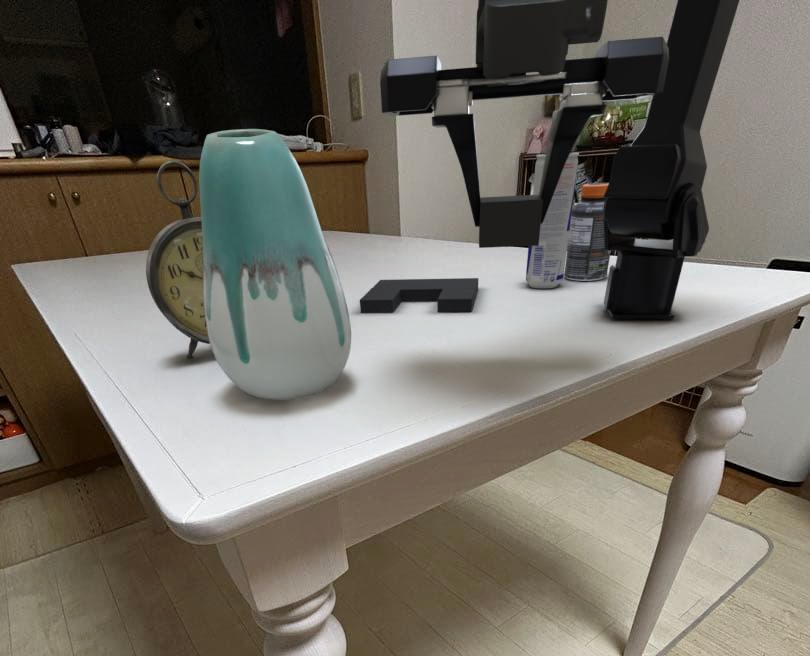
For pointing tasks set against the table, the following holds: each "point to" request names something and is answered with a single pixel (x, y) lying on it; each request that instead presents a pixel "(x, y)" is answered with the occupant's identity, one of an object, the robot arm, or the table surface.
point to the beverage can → (552, 228)
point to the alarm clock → (179, 270)
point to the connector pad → (510, 221)
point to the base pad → (421, 294)
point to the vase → (268, 270)
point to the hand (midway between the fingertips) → (508, 224)
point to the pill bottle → (588, 236)
